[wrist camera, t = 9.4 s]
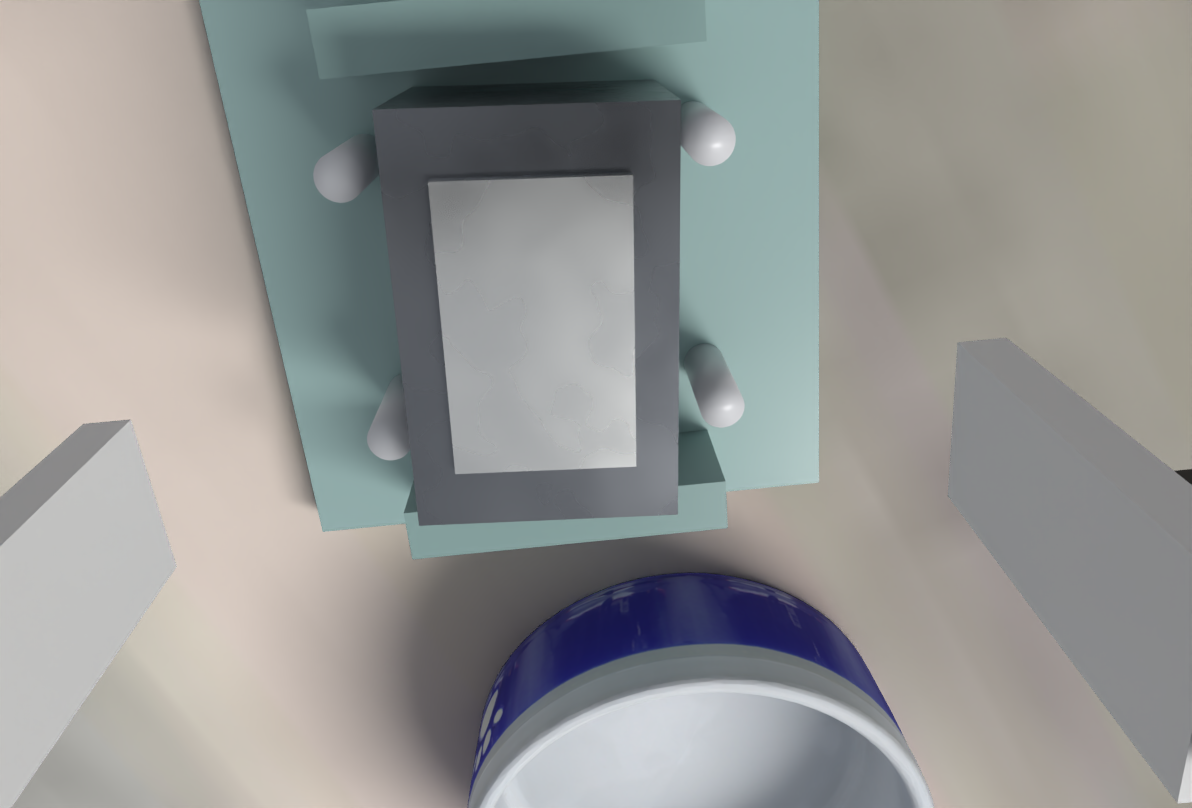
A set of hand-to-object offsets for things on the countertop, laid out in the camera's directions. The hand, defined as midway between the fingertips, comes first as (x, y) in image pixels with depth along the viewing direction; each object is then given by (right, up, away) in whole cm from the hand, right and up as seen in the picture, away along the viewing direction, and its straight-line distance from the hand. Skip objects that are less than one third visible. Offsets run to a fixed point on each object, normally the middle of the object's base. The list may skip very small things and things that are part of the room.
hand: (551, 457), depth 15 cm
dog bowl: (+4, -12, +21) cm, 24 cm away
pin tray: (-1, +5, +13) cm, 14 cm away
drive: (-1, +5, +12) cm, 13 cm away
